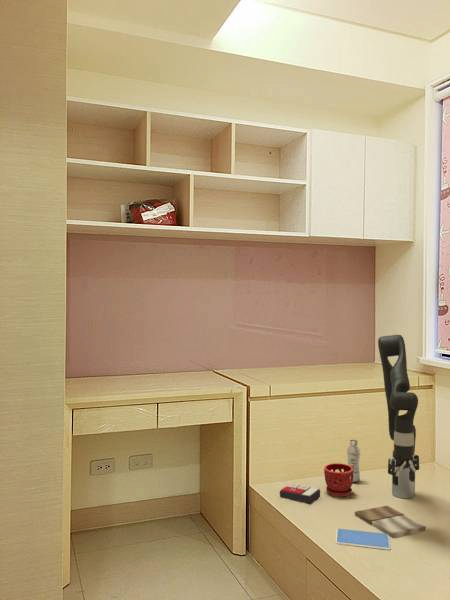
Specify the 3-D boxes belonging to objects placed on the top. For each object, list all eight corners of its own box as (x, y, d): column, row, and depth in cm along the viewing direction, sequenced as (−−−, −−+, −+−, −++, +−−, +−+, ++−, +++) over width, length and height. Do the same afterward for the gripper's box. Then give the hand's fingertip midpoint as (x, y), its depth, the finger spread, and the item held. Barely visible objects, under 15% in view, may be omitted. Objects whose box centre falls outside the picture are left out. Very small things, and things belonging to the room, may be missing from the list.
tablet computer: (335, 545, 195) (335, 541, 195) (336, 530, 207) (336, 527, 207) (390, 552, 190) (390, 548, 190) (388, 536, 203) (388, 533, 203)
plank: (404, 518, 218) (404, 514, 218) (426, 530, 207) (426, 526, 207) (371, 525, 211) (371, 521, 211) (392, 538, 201) (392, 533, 200)
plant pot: (328, 486, 254) (328, 461, 254) (355, 491, 248) (356, 465, 248) (320, 495, 242) (320, 469, 242) (349, 500, 237) (349, 473, 236)
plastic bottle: (352, 484, 256) (353, 443, 256) (343, 480, 262) (344, 439, 262) (363, 482, 259) (363, 441, 259) (353, 478, 265) (354, 438, 265)
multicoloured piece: (290, 482, 249) (320, 487, 241) (290, 491, 249) (320, 497, 241) (279, 489, 240) (310, 494, 232) (279, 498, 240) (310, 504, 232)
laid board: (387, 508, 228) (387, 505, 228) (403, 518, 219) (404, 514, 219) (354, 515, 221) (354, 511, 221) (370, 524, 212) (370, 520, 212)
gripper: (410, 437, 218) (410, 476, 218) (383, 442, 211) (383, 482, 212) (424, 442, 211) (424, 483, 211) (396, 447, 205) (396, 489, 205)
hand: (403, 482), depth 212 cm, fingers open, 8 cm apart
